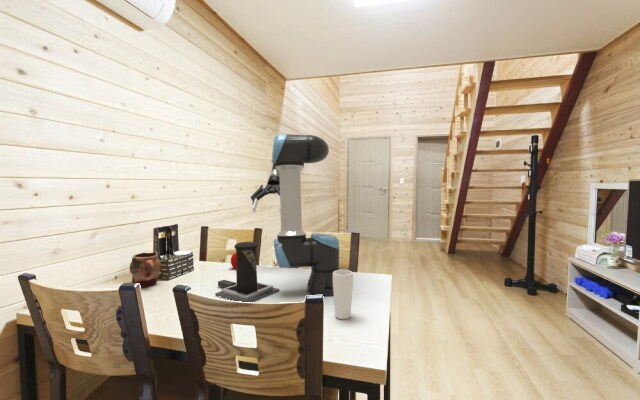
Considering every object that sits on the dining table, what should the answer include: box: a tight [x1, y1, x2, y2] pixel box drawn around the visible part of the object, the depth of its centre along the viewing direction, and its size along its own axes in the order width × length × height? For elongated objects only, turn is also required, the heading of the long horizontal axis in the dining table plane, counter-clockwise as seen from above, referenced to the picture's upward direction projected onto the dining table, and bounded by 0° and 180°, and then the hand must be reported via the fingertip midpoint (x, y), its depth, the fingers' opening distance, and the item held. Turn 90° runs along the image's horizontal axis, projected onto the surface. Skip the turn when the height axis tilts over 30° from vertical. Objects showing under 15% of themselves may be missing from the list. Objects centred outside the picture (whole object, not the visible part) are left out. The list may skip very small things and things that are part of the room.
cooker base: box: [214, 279, 280, 303], centre depth 133 cm, size 26×18×2 cm
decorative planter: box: [129, 252, 162, 289], centre depth 143 cm, size 20×12×14 cm, turn 50°
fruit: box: [230, 252, 236, 270], centre depth 171 cm, size 9×9×10 cm
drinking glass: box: [333, 269, 354, 320], centre depth 107 cm, size 7×7×15 cm
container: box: [234, 241, 258, 294], centre depth 131 cm, size 9×9×20 cm
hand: (266, 210), depth 157 cm, fingers open, 13 cm apart
